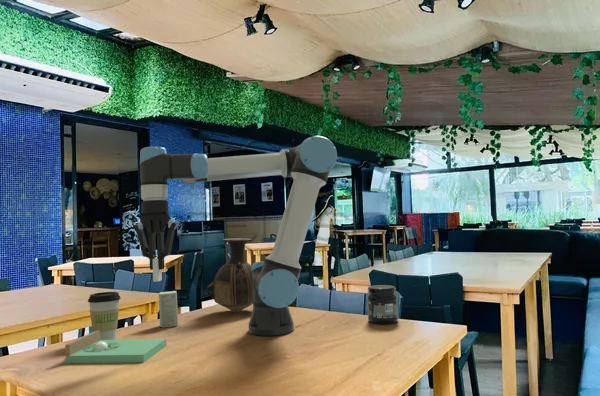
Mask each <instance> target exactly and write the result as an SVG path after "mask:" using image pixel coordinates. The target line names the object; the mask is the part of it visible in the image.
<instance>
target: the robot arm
mask: <svg viewBox="0 0 600 396" xmlns="http://www.w3.org/2000/svg"><path fill="white" fill-rule="evenodd" d="M139 153H140V155H139V156H140V157H139V174H140V175H139V177H140V198H141V200H142V202H141V203H140V205H141V218H140V221H139V222H138V223H137V224H134V225H132V228H133V230H134V231H135V232H136V236H137V239H138V243H139V247H140V251H141V254H142V257H144V258H147V259H148V260H149V269H150V271H151V270H152V280H153V283H154V282H155V283H156V282H161V281H162V279H163V278H162V277H163V275H162V270H163V269H165V257H168V256H170V255H171V253H172V248H173V243H174V237H175V232H176V230H177V229H178V227H179V223H178V222H175V221H173V220H171V217H170V214H169V201H168V200H167V199H168V198H169V190H168V180H180V181H182V182H183V183H184V184H187V185H188V184H189V185H192V184H196V183H204V182H213V181H223V180H226V181H227V180H236V179H248V178H261V177H270V176H281V177H283V178H292V179H293V183H292V185H291V188H290V191H289V195H288V198H287V202H286V205H285V209H284V212H283V215H282V217H281V221H280V224H279V225H280V226H279V228H278V231H277V234H276V238H275V241H274V245H273V248H272V251H271V253H270V254H269V255H267V256H265V257H264V261H256V262H253V264H251V265H252V271H251V272H252V283H253V304H252V305H253V306H252V311H251V315H250V318H249V322H248V333H249V334H251V335H255V336H263V337H264V336H265V337H272V336H280V335H282V336H283V335H286V334H289V333H291V332H293V331H294V330H295V323H294V320H293V317H292V315H291V314H292V313H291V311H290V308H289V305H291V304H293V302H294V301H295V300H296V298H297V297H298V294H299V288H300V287H299V283H300V282H299V279H300V278H299V277H300V274H301V271H302V266H301V265H300V263H299V260H300V257H301V253H302V249H303V247H304V244H305V240H306V236H307V232H308V231H309V230H308V229H309V226H310V222H311V220H312V216H313V213H314V209H315V205H316V203H317V198H318V195H319V192H320V189H321V188H322V187H324V186H325V185H327V182H328V179H329V174H330V172H331V170H332V169H333V167H335V165H336V163H337V160H338V152H337V148H336V146H335V144H334V143H333V142H332V141H331V140H330V139H329V138H327V137H325V136H322V135H314V136H310V137H307V138H306V139H304V140H303V141H302V143H300V144H299V145H297V146H294V147H291V148H284V149H280V150H279V152H273V153H272V152H271V153H260V154H259V153H258V154H247V155H246V154H245V155H233V156H222V157H209V158H208V155H207V154H205V153H179V154H177V153H175V154H172V153H171V154H170V153H168V152H167V149H166V148H165V147H164V146H163V147H162V146H146V147H143V148H141V149H140V152H139ZM144 228H145V229H146V231H147V237H146V235H145V231H144ZM166 228H168V229H167V234H166V240H165V229H166ZM147 240H148V241H147Z"/></svg>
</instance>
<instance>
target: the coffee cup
mask: <svg viewBox="0 0 600 396" xmlns="http://www.w3.org/2000/svg"><path fill="white" fill-rule="evenodd" d="M121 299H122V298H121V295H120V294H119V292H118V291H105V292H104V291H103V292H95V293H92V294H90V295H89V298H88V299H87V302H88V303H89V314H90V315H89V316H90V321H91V328H92V329H91V330H92V332H94V331H96V330H100V340H117V339H116V336H117V328H118V321H119V312H120V307H119V306H120V300H121Z"/></svg>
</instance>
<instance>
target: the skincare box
mask: <svg viewBox="0 0 600 396" xmlns="http://www.w3.org/2000/svg"><path fill="white" fill-rule="evenodd" d="M158 306H159V309H158V310H159V327H162V328H170V327H172V328H173V327H178V326H179V315H178V292H177V290H171V291H160V292H159V293H158Z"/></svg>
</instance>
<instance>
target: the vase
mask: <svg viewBox="0 0 600 396" xmlns="http://www.w3.org/2000/svg"><path fill="white" fill-rule="evenodd" d="M222 242H223V243H226V242H227V243H228V245H229V247H230V258H229V261H228V262H227V263H225V264H223V265H222V266H221V267H220V268H218V270H217V272H216V274H215V276H214V279H213V281H212V282H211V283H210V284H209V285H207V287H206V292H207V295H209V297H211V298H212V299H213V300H214V302H215V303H216V304H218V305H220V306H222V307H224V308H226V309H227V310H229V311H231V312H233V313H235V314H236V313H237V314H238V313H240V312H241V311H243V310H245V309H247V308H248V307H251V306H252V305H253V283H252V272H251V271H252V265H253V264H250V263H248V262H247V260H246V259H245V251H244V250H245V246H246V244H247V243H249V242H251V243H252V242H253V238H245V237H244V238H242V237H238V238H237V237H236V238H232V237H231V238H223V239H222ZM210 288H212V292H210V291H209V289H210Z"/></svg>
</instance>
